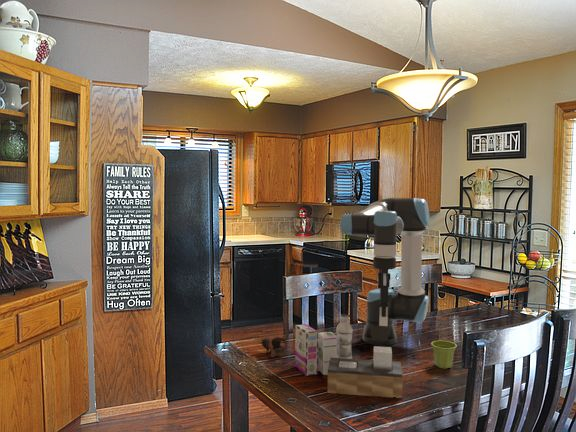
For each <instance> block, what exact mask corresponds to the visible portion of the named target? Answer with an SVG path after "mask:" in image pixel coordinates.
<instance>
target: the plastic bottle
mask: <svg viewBox="0 0 576 432" xmlns="http://www.w3.org/2000/svg"><path fill="white" fill-rule="evenodd" d="M339 321H340V322H339V323H338V324H337V326H336V329H335V332H336V336H337V358H346V359H354V358H353V353H352V341H353V340H352V339H353V332H354V328H353V326H352V325H351V323H350V321H351V319H350V315H348V314H341V315H339Z"/></svg>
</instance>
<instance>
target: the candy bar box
mask: <svg viewBox="0 0 576 432" xmlns="http://www.w3.org/2000/svg"><path fill="white" fill-rule="evenodd" d="M294 326H295V333H294V338H295V342H294V344H295V345H294V346H295V347H294V367H295V368H296V369H297V370H299V371H300V372H301V373H302V374H303V375H304V376H305V377H309V376H316V375H318V333H319V331H318V330H316V329H315V328H313V327H311V326H310V325H309V324H306V323H303V324H296V325H294Z"/></svg>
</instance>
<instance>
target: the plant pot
mask: <svg viewBox="0 0 576 432" xmlns="http://www.w3.org/2000/svg"><path fill="white" fill-rule="evenodd" d="M430 344H431V346H432V350H433V357H434V364H435V366H436V367H438V368H439V369H445V370H446V369H448V368H450V369H451V368H452V367H453V360H454V355H455V351H456V349H457V344H456V343H455V342H452V341H449V340H434V341H432V342H431V343H430Z"/></svg>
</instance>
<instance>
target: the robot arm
mask: <svg viewBox="0 0 576 432" xmlns="http://www.w3.org/2000/svg"><path fill="white" fill-rule="evenodd" d="M430 218H431V217H430V211H429V205H428V202H427V200H426V199H424V198H418V197H417V198H416V197H408V198H407V197H388V198H383V199H380V200H377V201H374V202H372V203H370V204H369V205H368V206H367V207H366V208H364V209H363V210H361V211H359V212H357V213H355V214H353V213H352V214H351V213H349V214H346V213H345V214H342V215H341V217H340V220H339V227H340V232H341V233H342V234H343V235H348V236H370V237H373V245H372V246H371V249H372V250H373V255H374V256H373V259H372V260H373V261H372V262H373V265H372V266H373V268H374V269H376V270H380V272H378V273H377V275H378V286H379V288H375V289H371V290H370V291H368V293H367V295H366V296H367V297H366V324H365V327H364V329H363V333H362V341H363V342H364V343H366V344H369V345H373V346H381V347H384V346H393V345H394V344H396V343H397V341H398V340H397V339H398V337H397V334H396V330H395V327H394V320H395V321H396V320H397V321H405V322H412V323H423V322H425V319H426V317H427V312H428V309H429V308H428V307H429V302H430V301H429V300H430V296H428V295H426V290H424V288H423V286H422V273H423V272H422V271H423V270H422V269H423V268H422V265H423V263H422V258H423V257H422V256H423V254H422V252H423V249H422V248H423V247H422V246H423V241H422V240H423V233H425V231H426V227H428V226H430V223H431V221H430ZM399 235H401V239H400V240H401V245H400V246H401V247H400V249H401V250H400V256H401V257H400V263H401V265H400V266H401V267H400V268H401V269H400V270H401V271H400V272H401V275H400V279H401V280H400V283H401V284H400V285H401V286H400V287H399V288H398V289H397V292H395V291H394V288H393V289H392V288H390V281H391V272H390V273H389V270H395V269H396V267H397V259H396V256H397V236H399Z"/></svg>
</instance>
